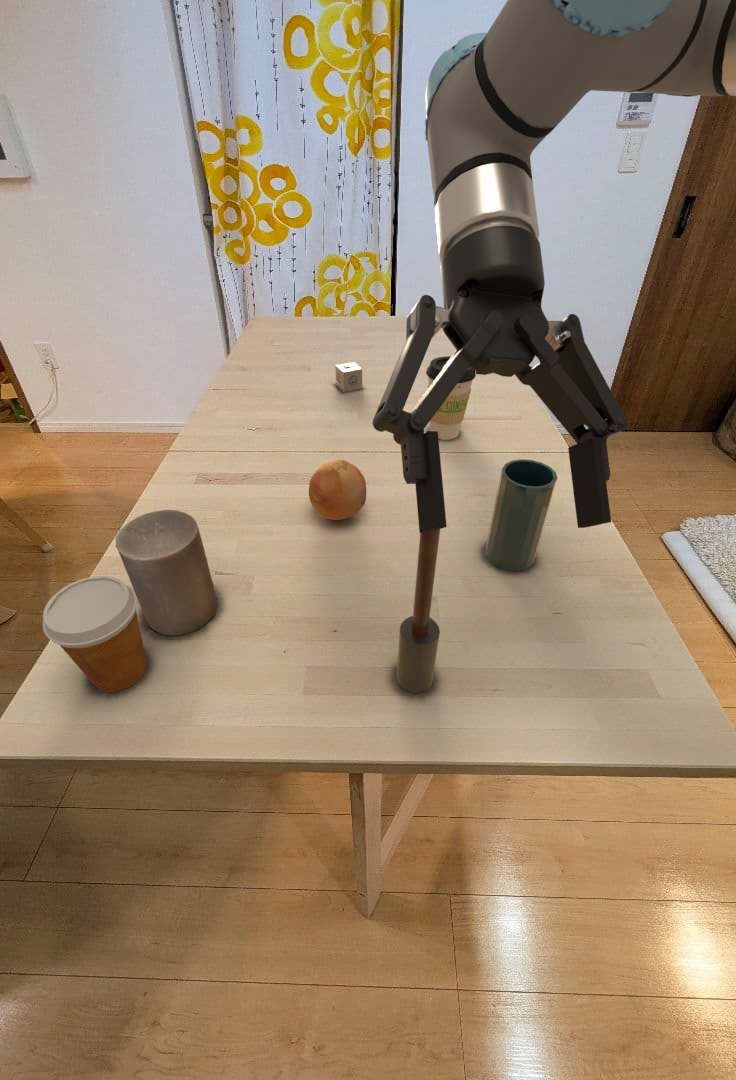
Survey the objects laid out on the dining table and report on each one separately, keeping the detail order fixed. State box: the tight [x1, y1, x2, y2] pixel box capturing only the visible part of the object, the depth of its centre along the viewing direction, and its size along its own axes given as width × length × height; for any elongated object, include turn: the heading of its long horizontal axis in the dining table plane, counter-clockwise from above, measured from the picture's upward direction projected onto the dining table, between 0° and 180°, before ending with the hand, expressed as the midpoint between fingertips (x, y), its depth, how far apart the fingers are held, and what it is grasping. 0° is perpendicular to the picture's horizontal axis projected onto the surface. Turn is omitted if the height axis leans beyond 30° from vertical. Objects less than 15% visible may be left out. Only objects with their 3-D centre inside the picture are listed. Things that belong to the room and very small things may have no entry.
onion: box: [308, 459, 367, 521], centre depth 86 cm, size 10×10×10 cm
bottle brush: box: [396, 529, 441, 695], centre depth 55 cm, size 4×4×26 cm
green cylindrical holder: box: [485, 458, 558, 572], centre depth 76 cm, size 7×7×15 cm
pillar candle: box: [114, 509, 219, 637], centre depth 67 cm, size 10×10×15 cm
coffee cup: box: [425, 355, 477, 441], centre depth 107 cm, size 10×10×15 cm
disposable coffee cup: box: [42, 575, 148, 693], centre depth 60 cm, size 10×10×12 cm
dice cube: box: [334, 361, 363, 393], centre depth 128 cm, size 5×5×5 cm
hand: (518, 528), depth 37 cm, fingers open, 13 cm apart
